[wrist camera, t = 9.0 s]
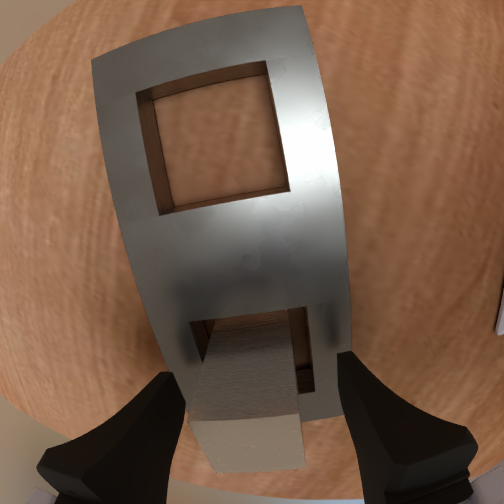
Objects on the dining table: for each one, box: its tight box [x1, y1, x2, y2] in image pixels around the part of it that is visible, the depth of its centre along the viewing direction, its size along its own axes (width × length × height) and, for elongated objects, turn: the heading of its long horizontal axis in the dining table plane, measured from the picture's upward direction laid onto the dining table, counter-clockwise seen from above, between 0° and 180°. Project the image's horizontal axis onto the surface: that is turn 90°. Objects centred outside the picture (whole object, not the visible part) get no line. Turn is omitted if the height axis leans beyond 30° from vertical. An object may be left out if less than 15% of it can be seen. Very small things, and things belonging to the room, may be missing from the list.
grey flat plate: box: [91, 5, 352, 422], centre depth 13 cm, size 9×20×2 cm, turn 10°
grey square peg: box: [187, 309, 306, 473], centre depth 12 cm, size 4×4×7 cm
